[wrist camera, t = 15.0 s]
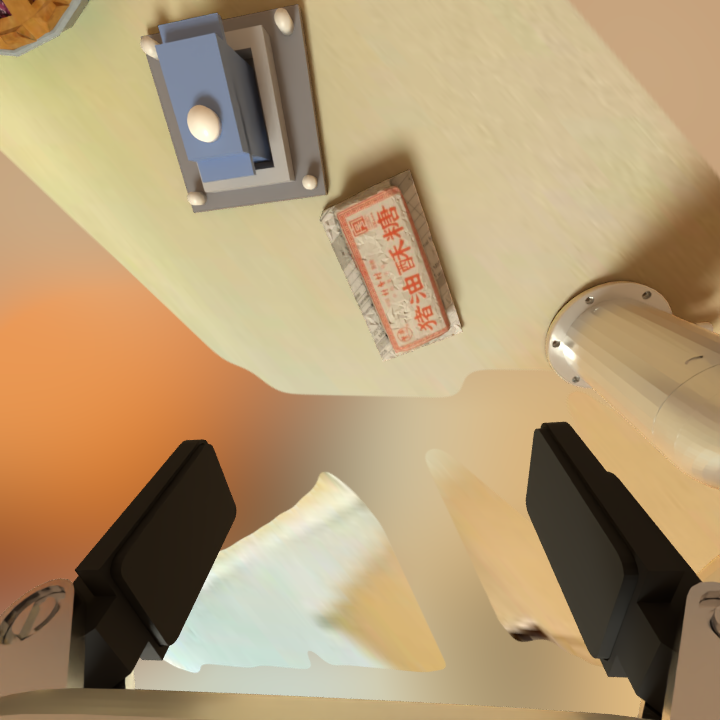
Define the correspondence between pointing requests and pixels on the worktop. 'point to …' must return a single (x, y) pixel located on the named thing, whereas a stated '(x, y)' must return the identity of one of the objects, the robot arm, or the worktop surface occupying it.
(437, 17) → the worktop surface
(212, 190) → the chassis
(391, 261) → the packaged product
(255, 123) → the block
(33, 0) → the pie
